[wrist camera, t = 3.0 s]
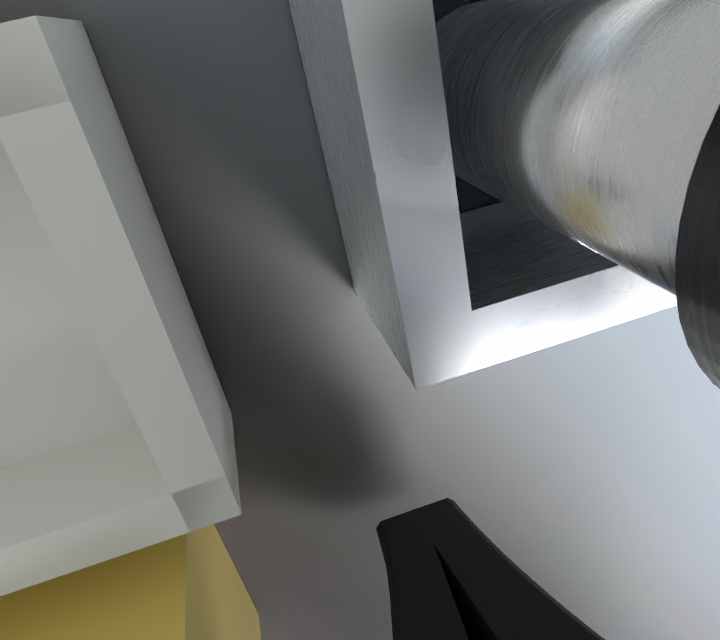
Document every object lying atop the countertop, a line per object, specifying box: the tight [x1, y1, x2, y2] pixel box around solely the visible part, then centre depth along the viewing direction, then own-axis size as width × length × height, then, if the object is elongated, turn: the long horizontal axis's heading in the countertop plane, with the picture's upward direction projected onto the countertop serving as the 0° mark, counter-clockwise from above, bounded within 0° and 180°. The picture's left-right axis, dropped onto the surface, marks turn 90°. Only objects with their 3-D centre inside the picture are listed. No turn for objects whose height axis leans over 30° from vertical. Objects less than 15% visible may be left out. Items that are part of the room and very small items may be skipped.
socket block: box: [288, 0, 677, 390], centre depth 7 cm, size 5×5×3 cm
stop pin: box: [435, 0, 720, 389], centre depth 6 cm, size 3×3×7 cm
